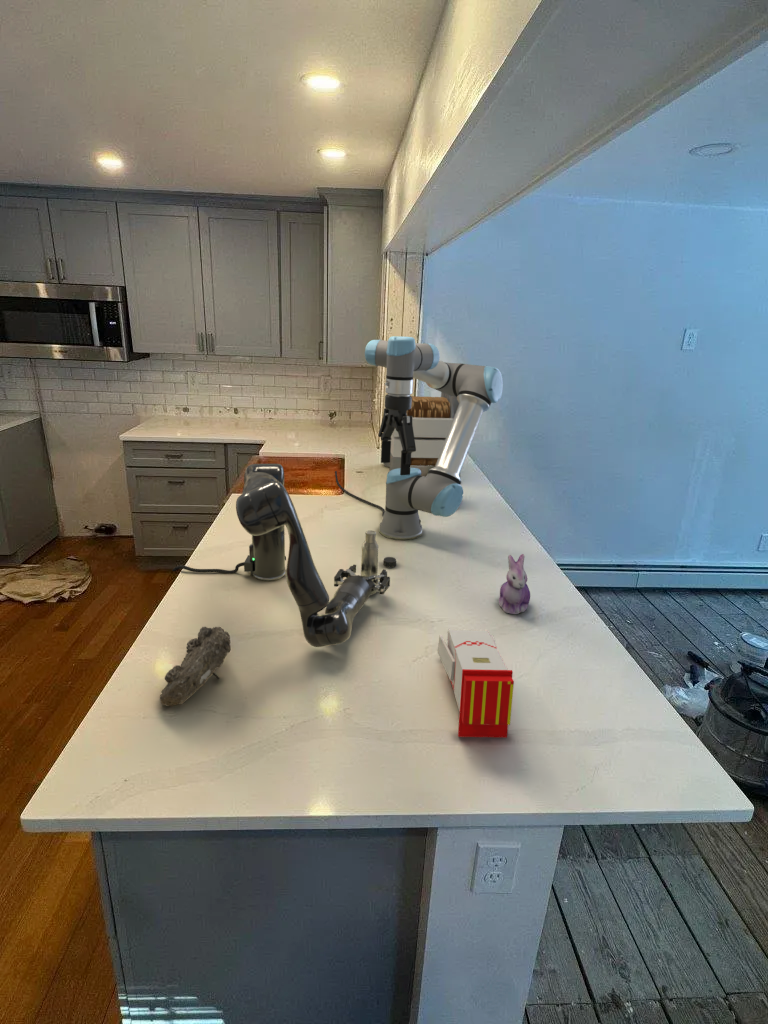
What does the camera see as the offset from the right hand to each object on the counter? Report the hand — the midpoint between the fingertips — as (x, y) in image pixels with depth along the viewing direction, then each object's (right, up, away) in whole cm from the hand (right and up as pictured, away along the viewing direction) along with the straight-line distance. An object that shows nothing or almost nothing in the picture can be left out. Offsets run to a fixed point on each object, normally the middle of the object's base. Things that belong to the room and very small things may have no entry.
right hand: (394, 468), depth 165 cm
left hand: (-7, -29, -8) cm, 31 cm away
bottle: (-7, -35, -6) cm, 36 cm away
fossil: (-41, -47, -46) cm, 78 cm away
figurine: (+32, -38, -11) cm, 51 cm away
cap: (-1, -28, +10) cm, 29 cm away
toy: (+15, -50, -46) cm, 70 cm away
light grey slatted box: (+14, +6, +110) cm, 111 cm away
